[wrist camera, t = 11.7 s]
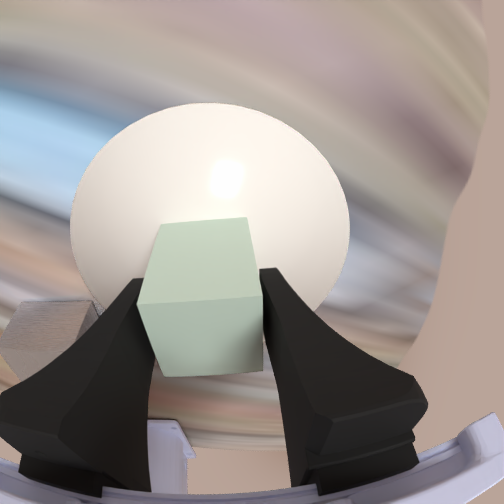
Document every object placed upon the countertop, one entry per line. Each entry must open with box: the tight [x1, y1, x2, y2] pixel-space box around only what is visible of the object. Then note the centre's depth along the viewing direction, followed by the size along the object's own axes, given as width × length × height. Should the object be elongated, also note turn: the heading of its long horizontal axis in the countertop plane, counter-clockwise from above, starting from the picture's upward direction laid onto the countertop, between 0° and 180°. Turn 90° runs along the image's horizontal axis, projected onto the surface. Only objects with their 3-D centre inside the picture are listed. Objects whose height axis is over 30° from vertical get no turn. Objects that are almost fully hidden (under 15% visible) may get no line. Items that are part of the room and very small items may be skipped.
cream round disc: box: [70, 102, 350, 342], centre depth 14 cm, size 13×13×1 cm
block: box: [137, 217, 263, 377], centre depth 12 cm, size 4×4×5 cm
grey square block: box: [0, 301, 99, 382], centre depth 15 cm, size 6×6×4 cm
